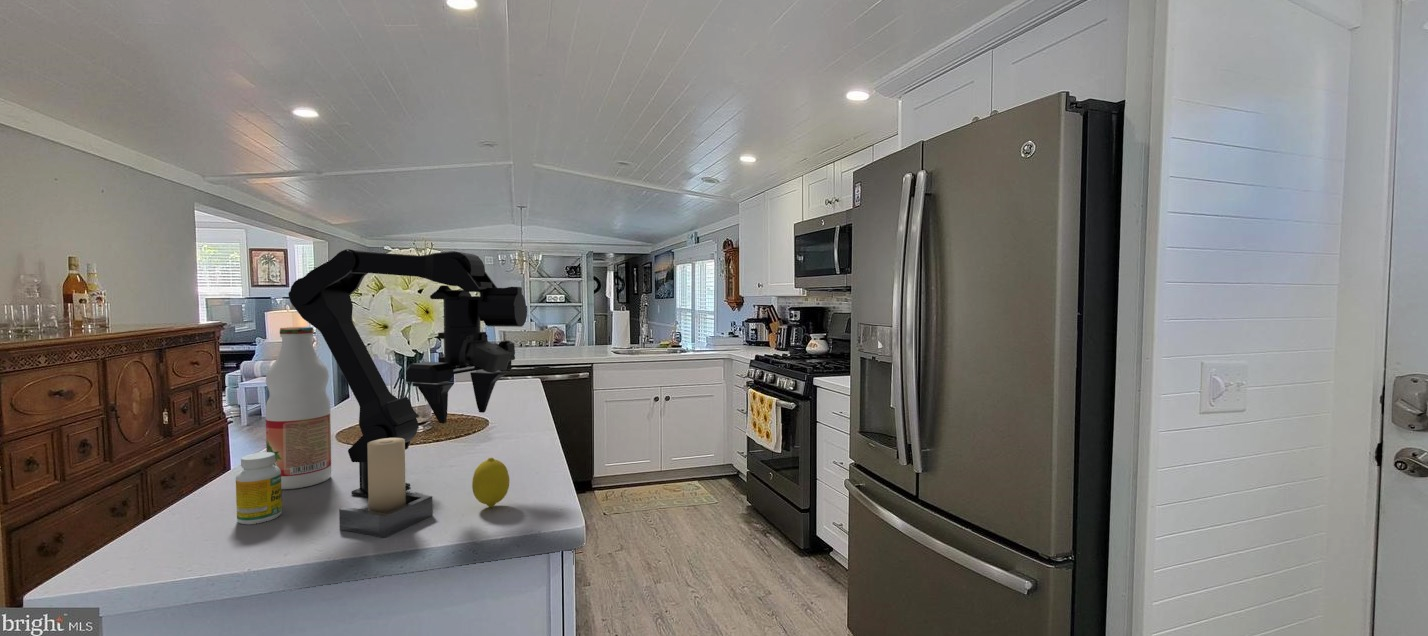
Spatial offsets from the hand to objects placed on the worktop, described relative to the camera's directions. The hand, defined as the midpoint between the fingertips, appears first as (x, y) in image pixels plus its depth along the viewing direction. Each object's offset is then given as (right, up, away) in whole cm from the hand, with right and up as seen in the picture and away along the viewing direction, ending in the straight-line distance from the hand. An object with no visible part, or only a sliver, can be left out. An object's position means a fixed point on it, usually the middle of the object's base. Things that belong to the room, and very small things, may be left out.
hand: (463, 417), depth 97 cm
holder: (-6, -13, -12) cm, 19 cm away
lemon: (+7, -14, -6) cm, 16 cm away
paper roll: (-6, -13, -12) cm, 19 cm away
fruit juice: (-32, -13, +6) cm, 35 cm away
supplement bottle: (-26, -14, -11) cm, 31 cm away
